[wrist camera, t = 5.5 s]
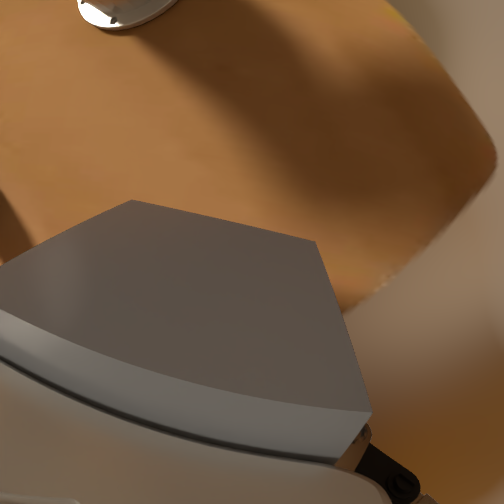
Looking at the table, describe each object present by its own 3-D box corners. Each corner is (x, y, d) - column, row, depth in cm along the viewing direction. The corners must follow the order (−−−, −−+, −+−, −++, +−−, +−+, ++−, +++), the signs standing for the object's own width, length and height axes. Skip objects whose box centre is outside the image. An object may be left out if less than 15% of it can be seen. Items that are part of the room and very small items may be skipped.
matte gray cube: (131, 199, 12) (-37, 288, 4) (315, 241, 12) (373, 412, 4) (123, 346, 15) (40, 476, 7) (268, 383, 15) (257, 545, 7)
